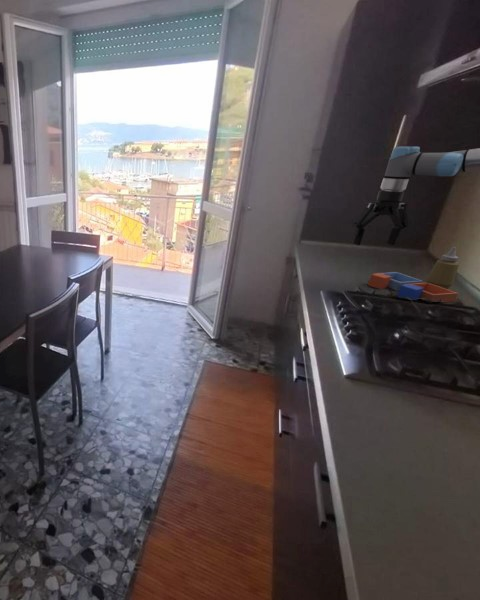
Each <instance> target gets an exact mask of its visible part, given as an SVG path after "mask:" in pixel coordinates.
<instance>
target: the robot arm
mask: <svg viewBox="0 0 480 600" xmlns="http://www.w3.org/2000/svg"><path fill="white" fill-rule="evenodd" d="M420 149H421V147H420V146H396V147H394V149H393V150H392V152H391V155H390V157H389V159H388V163H387V166H386V169H385V173H384V176H383V179H382V181H381V184H380V187H379V188H380V190H379V191H378V194H377V196H376V202H375V203H374V202H367V204H366V206H365V208H364V209H363V210H362V211H361V213H360V214H359V216H357V218H356V219H355V220H354V221H353V223H352V224H351V225H352V227H355V228H356V229H355V232H354V237H355V238H354V240H353V244H354V245H357V246H361V243H362V241H363V237H364V234H365V231H366V229H365V227H366V226H368V225H369V224H370V223H371V222H372V221H374V220H375V219H376V218H378V217H380V216H389V218H390V219H391V222H392V224H393V226H394V227H392V228H391V231H390V234H389V238H388V239H387V242H386V244H387V245H390V246H395V243H396V241H397V239H398V238H399V236H400V234H401V231H402V230H404V229H405V228H408V227H409V219H408V211H407V208H408V203H405V202H401V201H403V196H404V194H405V190H406V189H407V187H408V183H409V180H410V178H411V175H413V176H416V175H417V176H430V177H431V176H432V177H440V178H442V177H454V176H455V175H456V174H459V173H466V172H476V171H477V172H478V171H480V147H479V148H472V149H471V148H470V149H464V150H457V151H448V152H421V151H420Z"/></svg>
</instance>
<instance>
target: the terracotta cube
mask: <svg viewBox="0 0 480 600" xmlns="http://www.w3.org/2000/svg"><path fill="white" fill-rule="evenodd" d="M381 273H382V272H374V273H372V274H371V275H370V278H369V281H368V283H367V286H368V287H372V288H375V289H378V290H384V289H387V288H388V285H389V282H390V280H391V277H392V276H389V275H385V274H381Z"/></svg>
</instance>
